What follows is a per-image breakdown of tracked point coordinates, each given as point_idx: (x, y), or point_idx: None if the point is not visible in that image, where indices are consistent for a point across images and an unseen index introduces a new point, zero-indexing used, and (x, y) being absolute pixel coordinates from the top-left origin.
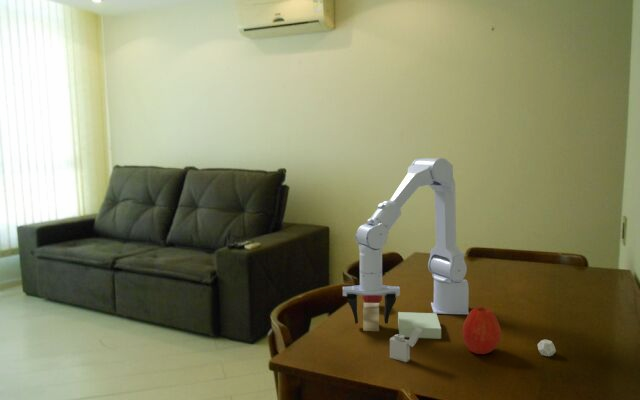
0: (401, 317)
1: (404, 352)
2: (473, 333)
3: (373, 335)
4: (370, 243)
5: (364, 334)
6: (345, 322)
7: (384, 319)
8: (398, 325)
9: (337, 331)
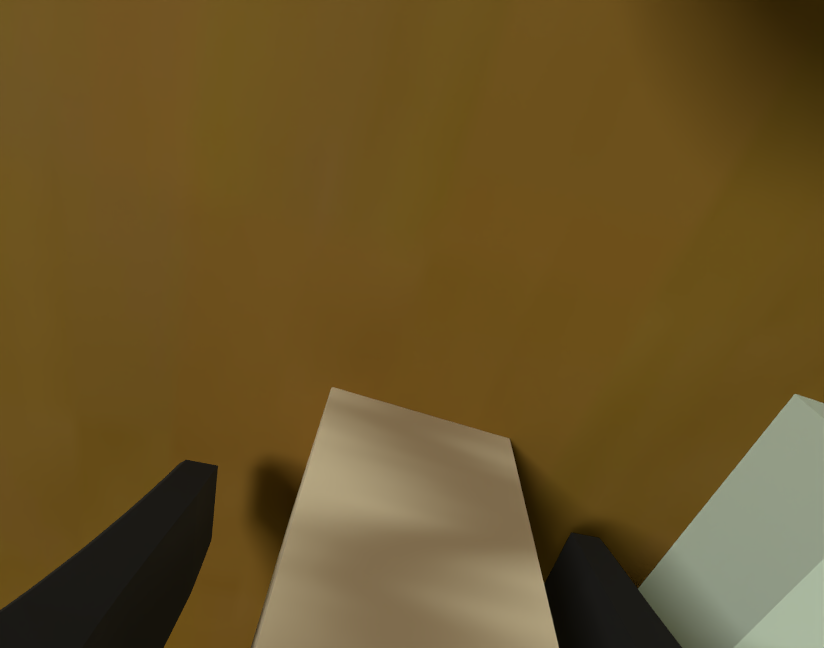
0: (791, 634)
1: None
2: None
3: None
4: None
5: None
6: (89, 274)
7: (570, 563)
8: (701, 530)
9: (7, 484)
